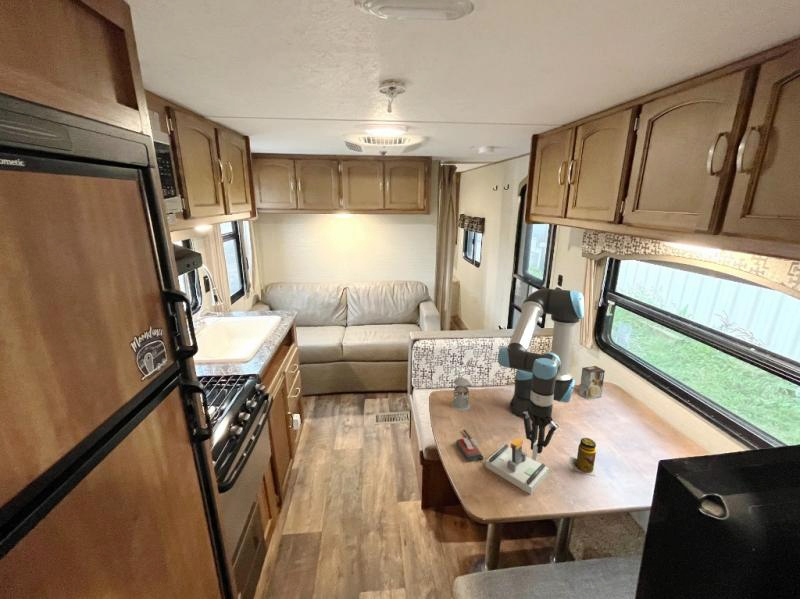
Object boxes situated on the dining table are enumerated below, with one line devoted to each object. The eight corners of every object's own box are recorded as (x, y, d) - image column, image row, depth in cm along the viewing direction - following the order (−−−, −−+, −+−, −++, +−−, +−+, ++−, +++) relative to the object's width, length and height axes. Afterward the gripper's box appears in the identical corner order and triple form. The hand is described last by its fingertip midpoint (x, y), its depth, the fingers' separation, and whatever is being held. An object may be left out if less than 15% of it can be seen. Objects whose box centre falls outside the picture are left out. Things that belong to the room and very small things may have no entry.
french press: (449, 408, 177) (450, 364, 170) (454, 397, 187) (456, 355, 181) (468, 412, 173) (470, 367, 167) (472, 400, 183) (474, 358, 177)
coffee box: (592, 391, 191) (596, 365, 187) (601, 397, 185) (605, 370, 181) (578, 393, 189) (582, 367, 185) (587, 399, 183) (591, 372, 179)
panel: (503, 450, 145) (504, 438, 143) (547, 474, 131) (549, 461, 130) (485, 467, 136) (486, 454, 134) (530, 494, 122) (532, 480, 121)
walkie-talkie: (488, 460, 140) (465, 431, 158) (488, 451, 138) (466, 423, 157) (468, 465, 137) (448, 435, 156) (469, 456, 136) (448, 427, 155)
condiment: (594, 476, 130) (598, 449, 127) (569, 468, 134) (573, 442, 131) (594, 464, 137) (598, 438, 134) (570, 457, 140) (574, 432, 137)
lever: (518, 458, 136) (517, 436, 134) (523, 460, 134) (523, 439, 132) (510, 465, 132) (510, 443, 130) (516, 468, 130) (515, 446, 128)
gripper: (518, 398, 122) (514, 454, 128) (555, 413, 113) (548, 472, 119) (528, 391, 127) (523, 445, 133) (564, 404, 118) (557, 462, 124)
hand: (535, 458), depth 126 cm, fingers closed
